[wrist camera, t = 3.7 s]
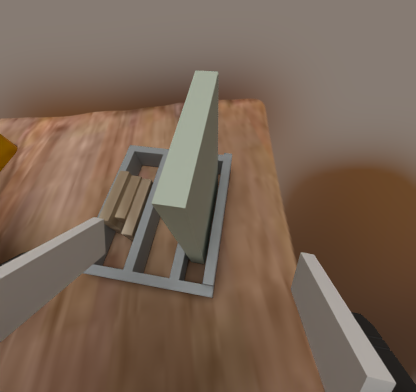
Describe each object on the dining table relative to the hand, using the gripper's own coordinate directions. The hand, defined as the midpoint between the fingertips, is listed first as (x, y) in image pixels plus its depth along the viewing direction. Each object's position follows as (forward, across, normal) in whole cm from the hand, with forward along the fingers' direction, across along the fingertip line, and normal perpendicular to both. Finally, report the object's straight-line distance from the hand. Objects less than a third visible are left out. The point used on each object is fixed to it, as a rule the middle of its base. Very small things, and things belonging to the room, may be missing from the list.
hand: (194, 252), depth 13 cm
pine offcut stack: (+18, -13, -6) cm, 23 cm away
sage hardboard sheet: (+18, -2, -6) cm, 19 cm away
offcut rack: (+18, -8, -6) cm, 20 cm away
